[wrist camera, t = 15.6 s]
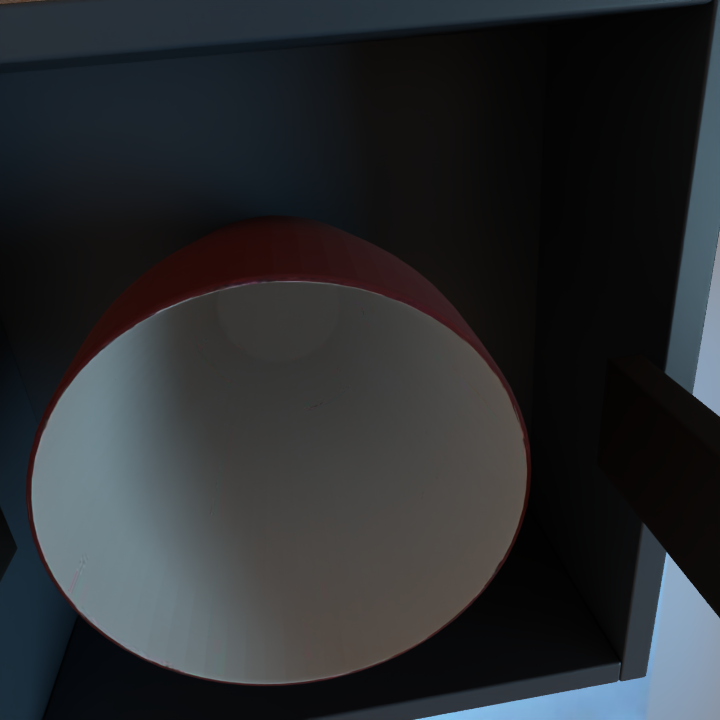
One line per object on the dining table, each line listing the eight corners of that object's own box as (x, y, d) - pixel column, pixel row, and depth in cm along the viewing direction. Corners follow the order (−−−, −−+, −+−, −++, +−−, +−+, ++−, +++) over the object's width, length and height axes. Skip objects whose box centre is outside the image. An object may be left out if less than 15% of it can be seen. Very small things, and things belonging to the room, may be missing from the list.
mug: (461, 425, 22) (597, 676, 13) (243, 508, 22) (231, 811, 13) (359, 120, 17) (463, 181, 8) (85, 228, 17) (-102, 401, 8)
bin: (568, -9, 17) (768, -58, 10) (540, 508, 25) (646, 677, 18) (-116, 48, 16) (-410, 35, 9) (78, 582, 23) (1, 797, 16)
